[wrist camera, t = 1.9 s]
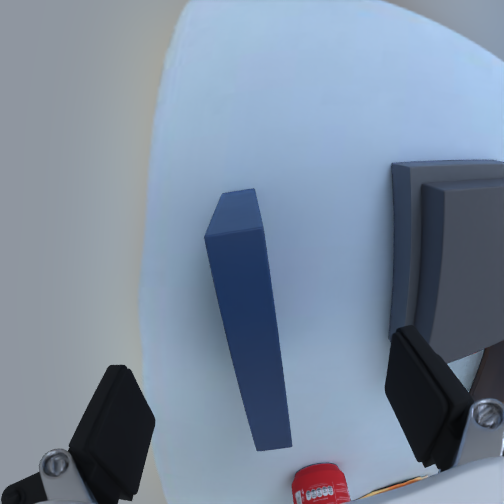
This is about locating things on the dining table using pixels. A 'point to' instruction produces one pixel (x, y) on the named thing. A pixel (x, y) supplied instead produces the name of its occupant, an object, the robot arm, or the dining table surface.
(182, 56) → the dining table surface
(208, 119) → the dining table surface
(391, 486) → the vessel
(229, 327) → the blue book
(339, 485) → the beverage can
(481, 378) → the book box
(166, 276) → the dining table surface
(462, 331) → the grey books
